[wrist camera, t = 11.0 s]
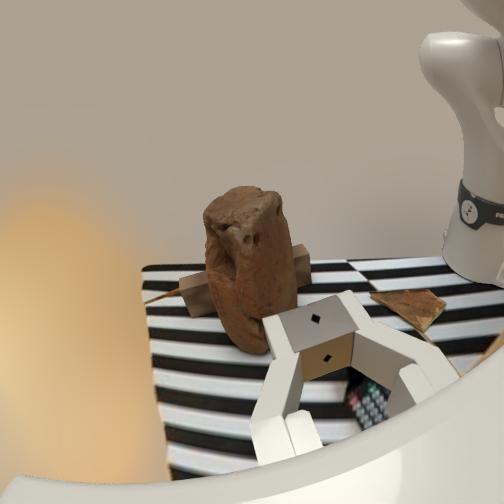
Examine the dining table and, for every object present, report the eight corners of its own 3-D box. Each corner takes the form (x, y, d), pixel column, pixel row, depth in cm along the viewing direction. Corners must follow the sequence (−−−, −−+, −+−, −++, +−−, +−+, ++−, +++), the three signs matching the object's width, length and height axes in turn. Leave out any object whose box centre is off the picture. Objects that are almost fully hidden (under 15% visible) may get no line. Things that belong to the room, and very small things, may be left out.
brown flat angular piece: (367, 299, 43) (368, 290, 42) (396, 276, 46) (398, 267, 45) (421, 337, 35) (424, 328, 34) (447, 307, 38) (450, 299, 37)
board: (305, 272, 50) (302, 243, 47) (311, 283, 48) (309, 253, 45) (190, 305, 49) (179, 278, 45) (191, 318, 46) (179, 290, 43)
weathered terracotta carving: (261, 297, 48) (235, 179, 36) (304, 309, 44) (290, 182, 32) (223, 347, 40) (175, 224, 29) (269, 365, 37) (236, 234, 25)
